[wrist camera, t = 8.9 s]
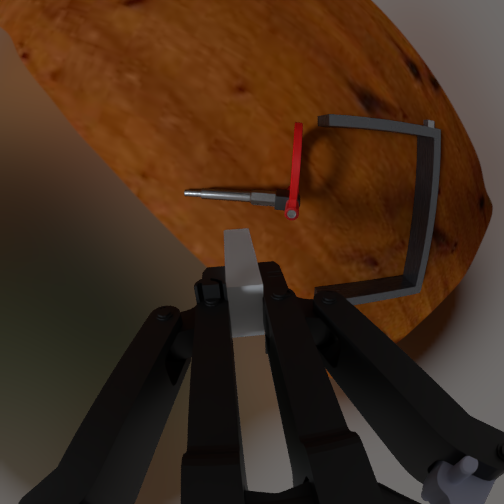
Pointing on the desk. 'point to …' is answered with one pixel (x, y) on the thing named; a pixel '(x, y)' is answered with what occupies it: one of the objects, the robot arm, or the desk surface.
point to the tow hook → (279, 198)
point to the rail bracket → (421, 211)
